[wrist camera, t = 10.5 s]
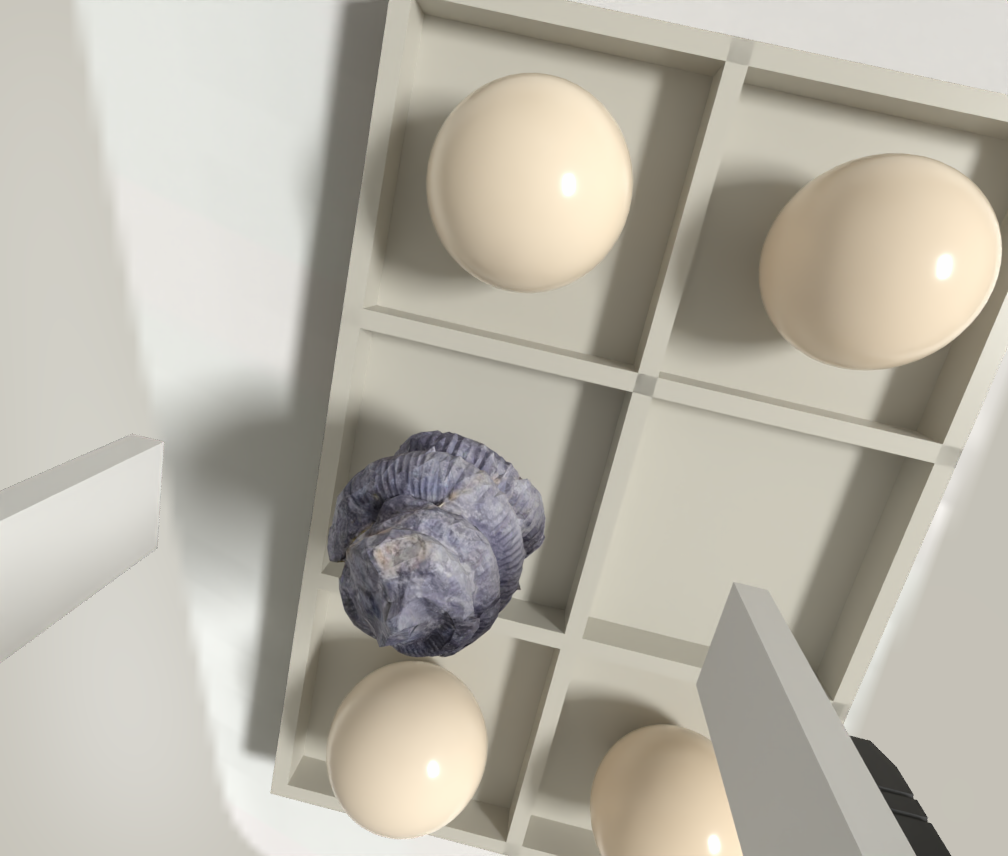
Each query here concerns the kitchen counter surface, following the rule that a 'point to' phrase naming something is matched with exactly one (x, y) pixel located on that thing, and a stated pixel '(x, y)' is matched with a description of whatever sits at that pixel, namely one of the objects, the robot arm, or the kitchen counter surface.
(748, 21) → the kitchen counter surface
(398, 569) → the seashell
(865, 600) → the egg tray
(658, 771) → the egg far right
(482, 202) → the egg near left
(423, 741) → the egg far left
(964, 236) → the egg near right
